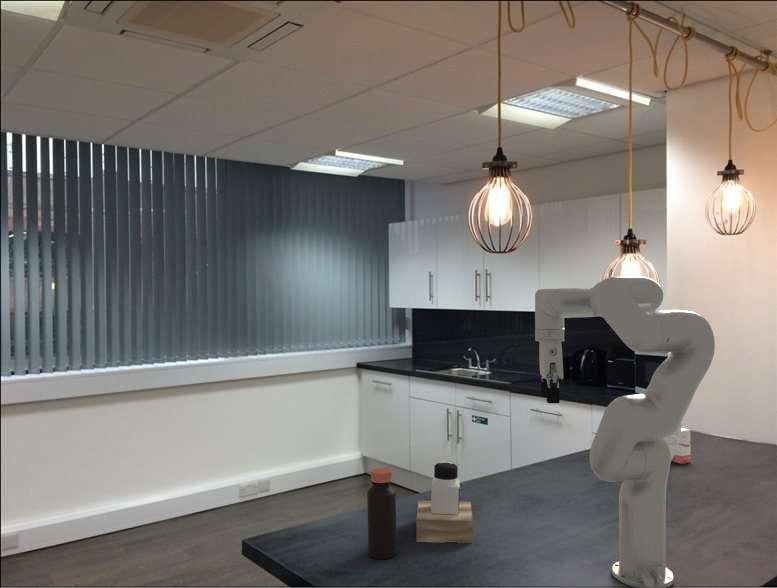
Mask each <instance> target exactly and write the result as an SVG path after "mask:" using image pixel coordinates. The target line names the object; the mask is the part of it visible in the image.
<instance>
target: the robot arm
mask: <svg viewBox="0 0 777 588" xmlns="http://www.w3.org/2000/svg"><path fill="white" fill-rule="evenodd" d="M663 300H664V291H663V289H662V286H661V285H660V284H659V283H658V282H657V281H656V280H654V279H652V278H650V277H647V276H638V275H637V276H610V277H607V278H604V279H602V280H601V281H600V282H597V283H596V284H595V285H594V286H593V287H569V288H564V287H563V288H560V287H559V288H541V289H540V288H539V289H537V290H536V292H535V294H534V319H535V320H534V324H535V325H534V326H535V329H534V336H535V337H534V340H535V342H539V346H538V347H539V351H538V352H539V353H538V354H539V374H540V376H541V382H540V388H541V389H540V393H541V394H540V395H541V397H543V398H544V397H546V403H547V404H560V401H561V400H560V382H559V380H563V379H564V364H563V363H564V362H563V361H564V360H563V348H562V342H565V319H570V318H571V319H572V318H593V317H594V318H595V317H596V318H597V317H600V318H603V320H605V321H606V323H607V324H608V325H609V327H611V330H613V331H614V332H615V334H616V335H617V336H618V337H619V338H620V340H621V341H622V342H623V343H624V345H625V346H626V347H627V348H629V349H630V350H632V351H634V352H636V353H639V354H645V355H647V354H660V353H661V354H662V353H670V354H669V355H668V357H667V358H665V360H663V361H662V362H661V363H660V365H659V366H658V367H657V368H656V370H655V371H654V372H653V375H652V377H651V380H650V381H649V384H648V386H647V387H646V389H645V390H644V391H643V392H641V393H638V394H627V395H622V396H619V397H617V398H615V399H613V400H612V401H611V402H609V404H608V405H607V406H606V408H605V410H604V412H603V415H602V417H601V419H600V422H599V425H598V427H597V430H596V432H595V435H594V438H593V440H592V442H591V446H590V450H589V464H590V467H591V469H592V472H593V474H594V475H595V476H597V478H599V479H600V480H602V481H604V482H609V483H617V482H621V485H620V488H619V493H618V494H619V496H618V545H619V547H618V548H619V549H618V559H619V560H618V561H617V562H615V563H614V564H612V566H611V574H612V576H613V577H614V578H615V579H617V581H619V582H620V583H622V584H624V585H627V586H630V587H633V588H669V587H671V586H672V585H673V584H674V581H675V580H674V579H675V578H674V577H675V576H674V574H673V572H672V571H671V570H670V569H668V567H667V551H666V550H667V542H666V541H667V537H666V536H667V535H666V532H667V527H666V526H667V525H666V524H667V514H666V513H667V485H668V478H669V473H670V468H671V467H670V466H671V463H672V461H671V452H670V448H669V446H668V444H667V442H666V441H665V440H664V439H663V438H666V437H669V436H672V435H673V434H674V433H675V432H676V431H677V430H678V428H679V426H680V424H681V425H682V421H683V420H684V418H685V416H686V413H687V411H688V409H689V407H690V405H691V404H692V401H693V398H694V396H695V394H696V391H697V390H698V388H699V386H700V384H701V382H702V381H703V379H704V377H705V376H706V374H707V372H708V370H709V368H710V367H711V364H712V362H713V359H714V355H715V349H716V340H715V335H714V332H713V329H712V326H711V325H710V324H709V321H708V320H706V318H705V317H704V316H702V315H701V314H699V313H696V312H694V311H690V310H685V309H684V310H682V309H679V310H678V309H671V310H670V309H668V310H667V309H666V310H658V309H659V307H660V306H661V305H662V304H663V303H662V302H663Z"/></svg>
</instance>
